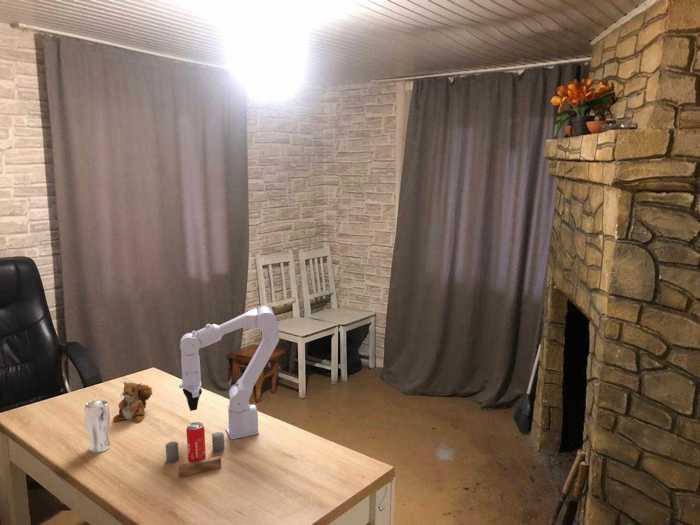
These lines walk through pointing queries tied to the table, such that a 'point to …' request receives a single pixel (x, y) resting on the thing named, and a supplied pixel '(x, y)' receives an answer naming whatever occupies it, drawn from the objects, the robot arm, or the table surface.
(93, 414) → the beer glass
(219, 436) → the bollard
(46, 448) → the table surface
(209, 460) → the walnut rail
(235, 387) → the robot arm
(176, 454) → the bollard
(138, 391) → the stuffed squirrel
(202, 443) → the beverage can
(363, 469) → the table surface
